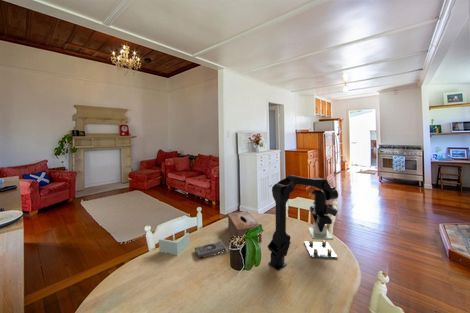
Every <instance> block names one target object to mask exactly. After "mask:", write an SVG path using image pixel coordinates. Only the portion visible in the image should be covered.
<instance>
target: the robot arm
mask: <svg viewBox="0 0 470 313" xmlns="http://www.w3.org/2000/svg"><path fill="white" fill-rule="evenodd" d="M297 185H300V186H309V187H312V188H314V189H313V191H311V193H310V194H312V195H314V197H313V198H314V199H313V200H314V201H313V203H312V204H313V205H311V206H309V212H310V213H311V216H312V218H313V220H314V221H313V222H317V225H318V228H319V230H320V232H322V231H323V228H324V225H325V224H326V225H332V223H333V220H332V218H331V217H330V216H329V215H331V216H334V217H336V216H337V214H338V212H339V210H337V209H336V208H335V207H334V206H333V204H332V203H328V204H327V201H331V200H335V199H338V198H339V193H338V189H336V187H335V186H331V185H330V184H329V180H327V179H326V178H321V177H310V178H309V177H303V176H298V175H292V174H290V175H288V176H286V177H285V178H282V179H281V180H279V181H278V182H276V183H275V184H274V185H273V186H271V193H272V197H273V200H274V203H275V231H274V232H273V234H272V239H271V240H270V242H269V243H268V245H267V250H269V252H270V261H269V262H268V263H267V264H268V265H269V266H270V267H272V268H274V269H275V270H277V271H279V270H280V269H283V268H284V267H286V266H288V264H287V262H285V257H287V254H288V251H289V249H290V245H291V236H290V235H289V234H288V233H287V202H288V200H289V199H290V194H291V193H292V192H293V191H294V190H295V187H296V186H297Z"/></svg>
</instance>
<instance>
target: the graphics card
mask: <svg viewBox="0 0 470 313" xmlns="http://www.w3.org/2000/svg"><path fill="white" fill-rule="evenodd" d="M218 240H219V241H216V242H213V243H208V244H205V245H204V244H203V245H200V246H197V247H194V251H195V254H196V256H197V258H198V257H199V258H200V257H203V258H206V256H207V257H211V256H212V255H213V256H212V257H215V256H219V255H220V256H221V255H224V254H226V253H229V246H226V245H225V244H224V242H223V240H222V239H220V238H219V239H218ZM223 250H224V251H223ZM218 252H220V253H219V254H218ZM222 252H223V253H224V254H223V253H222ZM225 252H226V253H225ZM214 254H216V255H214ZM210 255H211V256H210ZM212 257H211V258H212Z"/></svg>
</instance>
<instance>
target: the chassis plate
mask: <svg viewBox="0 0 470 313" xmlns="http://www.w3.org/2000/svg"><path fill="white" fill-rule="evenodd" d="M304 245H305V248H306V250H307V252H308V255H309V256H310V258H311V259H325V260H328V259H329V260H331V259H333V260H334V259H335V260H338V255H337V254H336V252H335V251H334V249H333V248H332V247H331V245H330V244H329V242H328V241H327V240H321V241H313V239H310V240H308V241H304Z"/></svg>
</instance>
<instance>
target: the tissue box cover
mask: <svg viewBox="0 0 470 313" xmlns="http://www.w3.org/2000/svg"><path fill="white" fill-rule="evenodd" d="M227 223H228V224H227V225H228V229H229V231H230V230H231V231H230V233H231V232H232V233H231V234H233V235H234V236H243V235H244V234H245V233H246V231H247V230H248V229H252V228H254V227H256V226H258V225H261V224H260V223H259V222H258V220H256V218H255V217H254V216H253V215H252V214H251V213H250V212H249V211H247V210H245V211H238V212H231V213H230V212H229V213H228V214H227ZM233 235H232V236H233ZM234 236H233V237H234ZM258 237H259V242H258V243H262V242H263V241H262V237H263V236H262V233H261V234H259V235H258Z"/></svg>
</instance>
